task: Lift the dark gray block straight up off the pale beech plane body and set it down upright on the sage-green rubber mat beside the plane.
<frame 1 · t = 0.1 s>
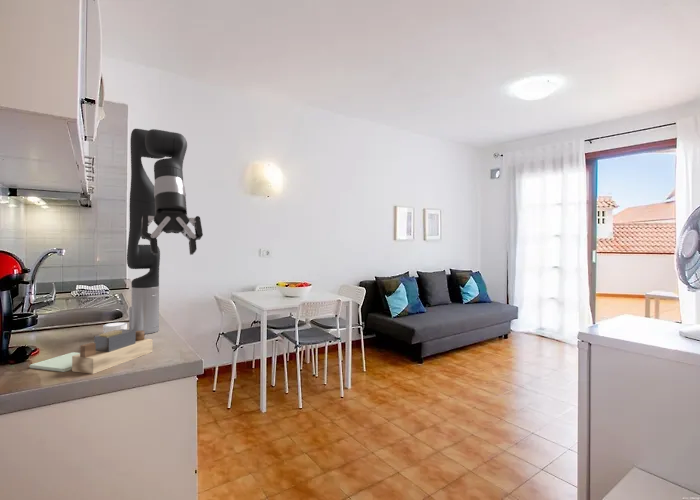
hand: (174, 254, 94), 31 cm above the countertop, tool tilted 20°, fingers open, 8 cm apart
dark gray block: (115, 347, 106), point 4 cm above the countertop, touching plane body
white cup: (115, 345, 122), on the countertop
plane body: (115, 360, 106), on the countertop
mat: (68, 362, 104), on the countertop
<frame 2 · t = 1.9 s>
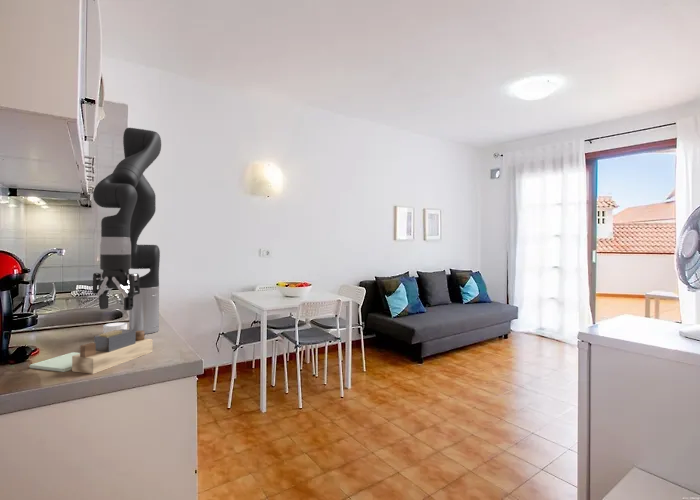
hand: (116, 309, 106), 15 cm above the countertop, tool pointing down, fingers open, 8 cm apart
nothing on the countertop moved.
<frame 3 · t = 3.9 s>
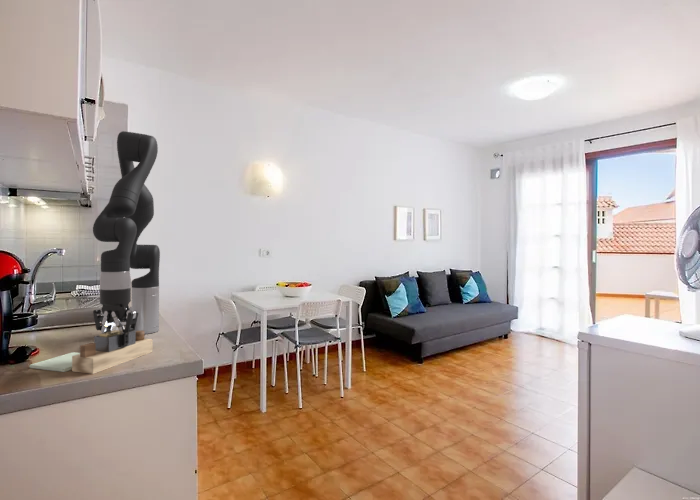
hand: (115, 345, 106), 4 cm above the countertop, tool pointing down, fingers closed on dark gray block, 5 cm apart
dark gray block: (115, 347, 106), point 4 cm above the countertop, touching gripper, plane body
everything else where it was.
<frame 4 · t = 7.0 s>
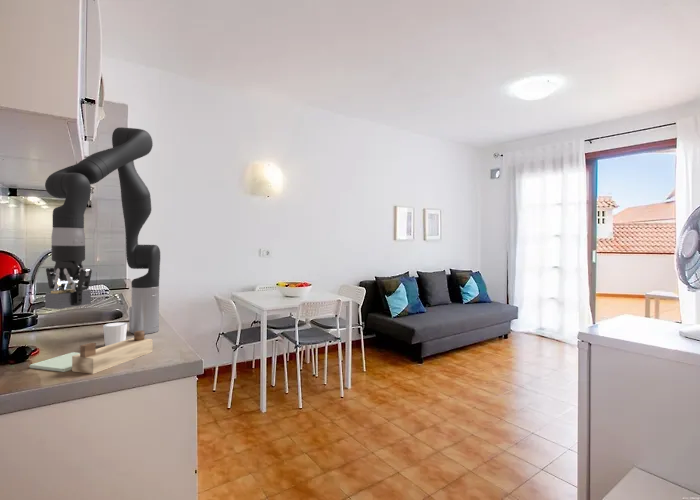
hand: (68, 304, 103), 17 cm above the countertop, tool pointing down, fingers closed on dark gray block, 5 cm apart
dark gray block: (68, 305, 103), point 16 cm above the countertop, touching gripper
everything else where it was.
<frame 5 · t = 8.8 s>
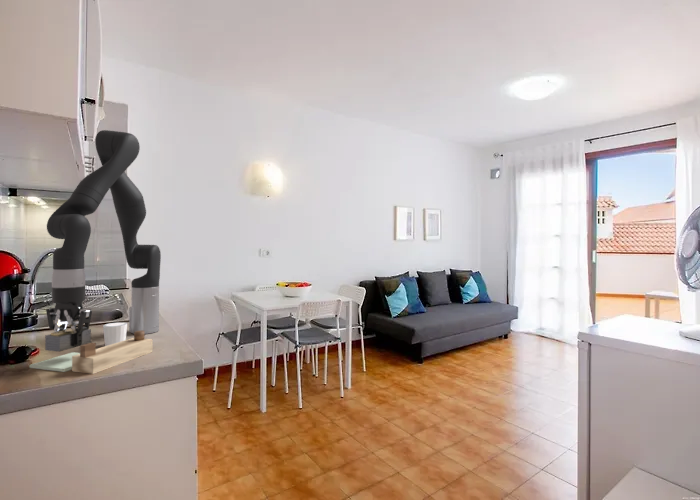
hand: (69, 345, 104), 5 cm above the countertop, tool pointing down, fingers closed on dark gray block, 5 cm apart
dark gray block: (68, 346, 103), point 5 cm above the countertop, touching gripper
everything else where it was.
when the fingers open (3 cm above the countertop, at t = 10.3 s): dark gray block drops 1 cm, resting on mat.
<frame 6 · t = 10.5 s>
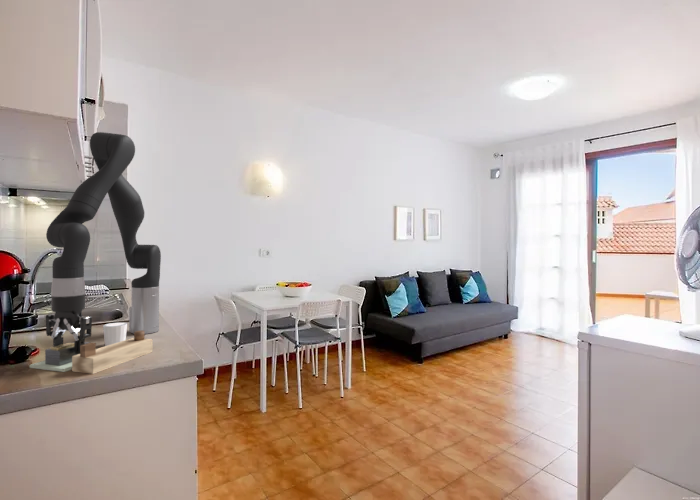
hand: (68, 351, 104), 3 cm above the countertop, tool pointing down, fingers open, 7 cm apart
dark gray block: (68, 359, 104), point 1 cm above the countertop, touching mat
everything else where it was.
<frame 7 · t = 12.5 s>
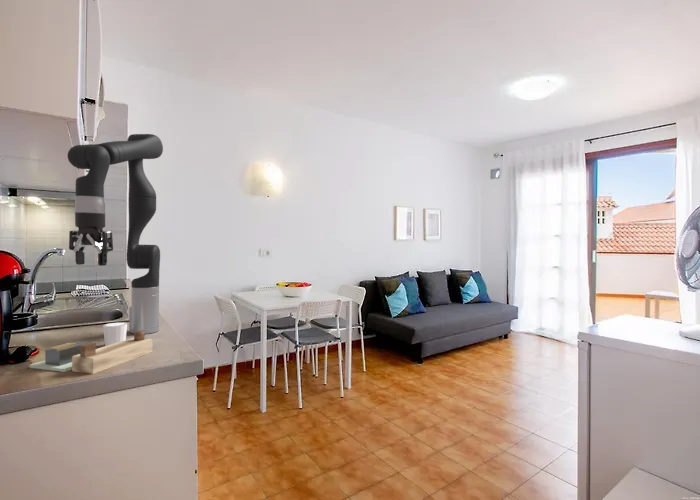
hand: (91, 264, 113), 27 cm above the countertop, tool pointing down, fingers open, 8 cm apart
nothing on the countertop moved.
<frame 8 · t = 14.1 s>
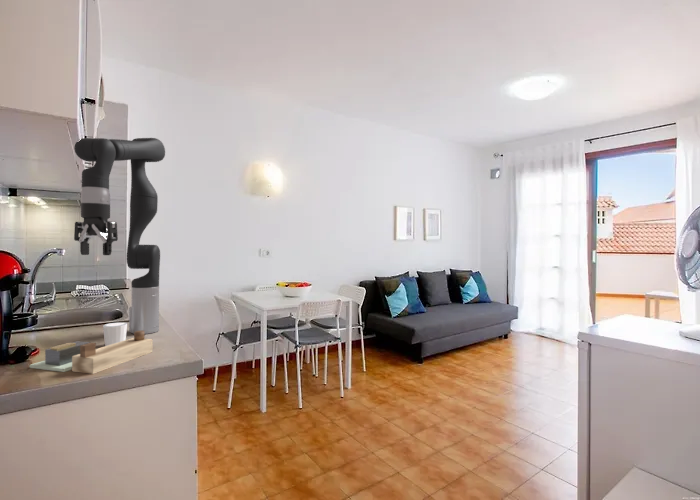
hand: (95, 255, 115), 30 cm above the countertop, tool pointing down, fingers open, 8 cm apart
nothing on the countertop moved.
at the end: dark gray block inside the target area on the mat (0.0 cm from its centre), point 0.8 cm above the mat's base; dark gray block tilted 0°; dark gray block touching mat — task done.
